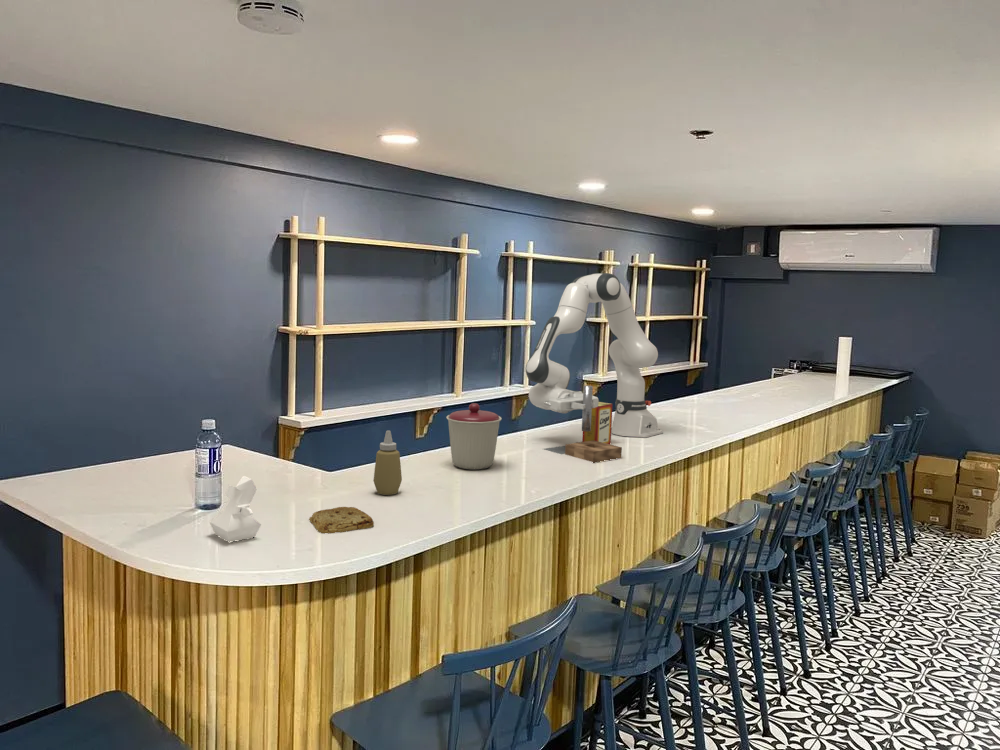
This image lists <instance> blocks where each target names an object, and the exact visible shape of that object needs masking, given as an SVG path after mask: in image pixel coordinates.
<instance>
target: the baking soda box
mask: <svg viewBox="0 0 1000 750" xmlns="http://www.w3.org/2000/svg"><path fill="white" fill-rule="evenodd" d="M612 420H613V403H608V402H603V401H599V403H598V407H595V408H592V414H591V431H582V441H581V442H586V441H592V440H594V441H598V442H602V443H606V444H610V443H612V433H611V431H612V430H611V428H612V427H613V423H612V422H613V421H612ZM610 445H611V444H610Z"/></svg>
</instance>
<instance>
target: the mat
mask: <svg viewBox="0 0 1000 750" xmlns="http://www.w3.org/2000/svg"><path fill="white" fill-rule="evenodd" d="M543 450H544V451H547V452H551V453H555V454H560V455H565V445H559V446H552V447H547V448H543Z"/></svg>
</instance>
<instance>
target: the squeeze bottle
mask: <svg viewBox="0 0 1000 750" xmlns="http://www.w3.org/2000/svg"><path fill="white" fill-rule="evenodd" d="M384 435H385V436H384V439H383V442H380V443H379V450H378V451H377V452H375V453H376V456H375V463H374V465H375V466H374V473H373V484H374V487H375V490H376V493H377V494H378V495H383V496H389V495H392V496H393V495H396V494H398V493H399V489H400V487H401V484H402V481H403V477H402V476H403V475H402V466H401V465H402V464H401V454H400V451H399V450H397V443H396V442H393V438H392V437H393V436H392V432H391V430H386V431H385V434H384Z"/></svg>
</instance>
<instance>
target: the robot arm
mask: <svg viewBox="0 0 1000 750" xmlns="http://www.w3.org/2000/svg"><path fill="white" fill-rule="evenodd" d="M600 302H601V303H602V306H603V311H604V314H605V316H606V319H607V323H608V325H609V329H610V331H611V333H612V334H613V335H614V336H615V337H616V338H617V339H614V340H613V341H612V342H611V343H610V345H609V348H608V354H609V358H610V359H611V360H612V362H613V364H614V369H615V373H616V380H617V383H616V384H617V387H616V389H617V390H616V391H617V392H616V399H615V406H614V407H615V411H614V416H613V421H612V422H613V423H612V427H611V434H613V435H616V436H621V437H622V436H623V437H638V438H649V437H653V436H657V435H661V434H664V430H662V429H660V428H658V420H657V418H656V417H655V416H654V414H653V413H651V412H650V411H649V410H648V409H647V408H648V407H650V406H651V405H652V402H651V400H645V392H646V391H645V390H646V389H645V387H646V382H645V378H644V377H643V375H642V374H641V370H640V369H641V368H642V369H643V368H649V367H652V366H654V364H656V362H657V360H658V357H659V352H658V348H657V347H656V346H655V345H654V344H653V343H652V342H651V341H650V340H649V338H648V337H647V335H646V334H645V332H644V330H643V329H642V327H641V326H640V324H639V321H638V319H637V316H636V314H635V311H634V308H633V307H634V306H633V304H632V301H631V298H630V296H629V294H628V292H627V290H626V288H625V286H624V284H623V283H621V282H620V280H619V278H618V277H617V276H616V275H615V274H613V273H607V272H604V273H592V274H588V275H581V276H578V277H576V278H575V279H574V280H572V282H571V283H569V284H567V285H566V287H565V288H564V290H563V293H562V294H561V297H560V300H559V304H558V307H557V310H556V312H555V314H554V316H552V317H550V318H549V319H548V320H547V321H546V323H545V325H544V327H543V329H542V332H541V334H540V336H539V339H538V341H537V343H536V346H535V348H534V350H533V353H531V356H530V357H529V359H528V360H527V362H526V365H525V374H526V377H527V379H528V380H529V381H530V382H534V383H536V384H535V385H533V386H531V387H530V389H529V390H528V398H529V401H530V403H531V404H532V405H533V406H535V407H536V408H539V409H542V410H546V411H547V410H548V411H550V410H551V411H553V412H556V413H560V414H567V413H569V412H572V411H574V410H575V411H576V410H583V409H586V405H585V404H583V391H580V390H570V389H568V386H569V384H570V379H571V373H570V370H569V368H568V367H567V366H565V365H563V364H561V363H558V362H556V361H554V360H551V359H550V358H549V356H550V352H551V350H552V348H553V345H554V344H555V341H556V339H557V337H559V336H560V335H562V334H564V335H566V334H574V333H576V332H578V331H579V330H581V328H582V327H583V325H584V323H585V321H586V316H587V311H588V308H589V304H590V303H591V304H592V303H595V304H596V303H600ZM599 402H600V400H599V398H598V396H595V395H592V408H595V407H598V403H599ZM647 406H648V407H647Z"/></svg>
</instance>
